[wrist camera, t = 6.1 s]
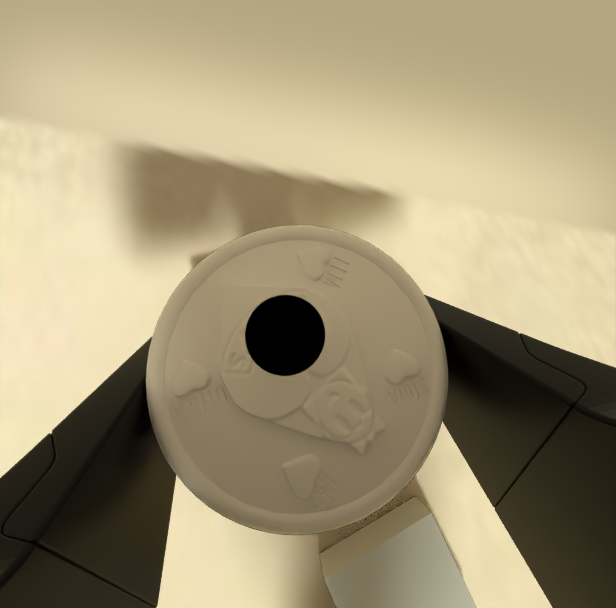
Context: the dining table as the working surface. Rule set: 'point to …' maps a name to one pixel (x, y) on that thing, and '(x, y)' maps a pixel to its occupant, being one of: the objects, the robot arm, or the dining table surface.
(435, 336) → the smoothie
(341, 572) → the grey tile
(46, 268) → the dining table surface
